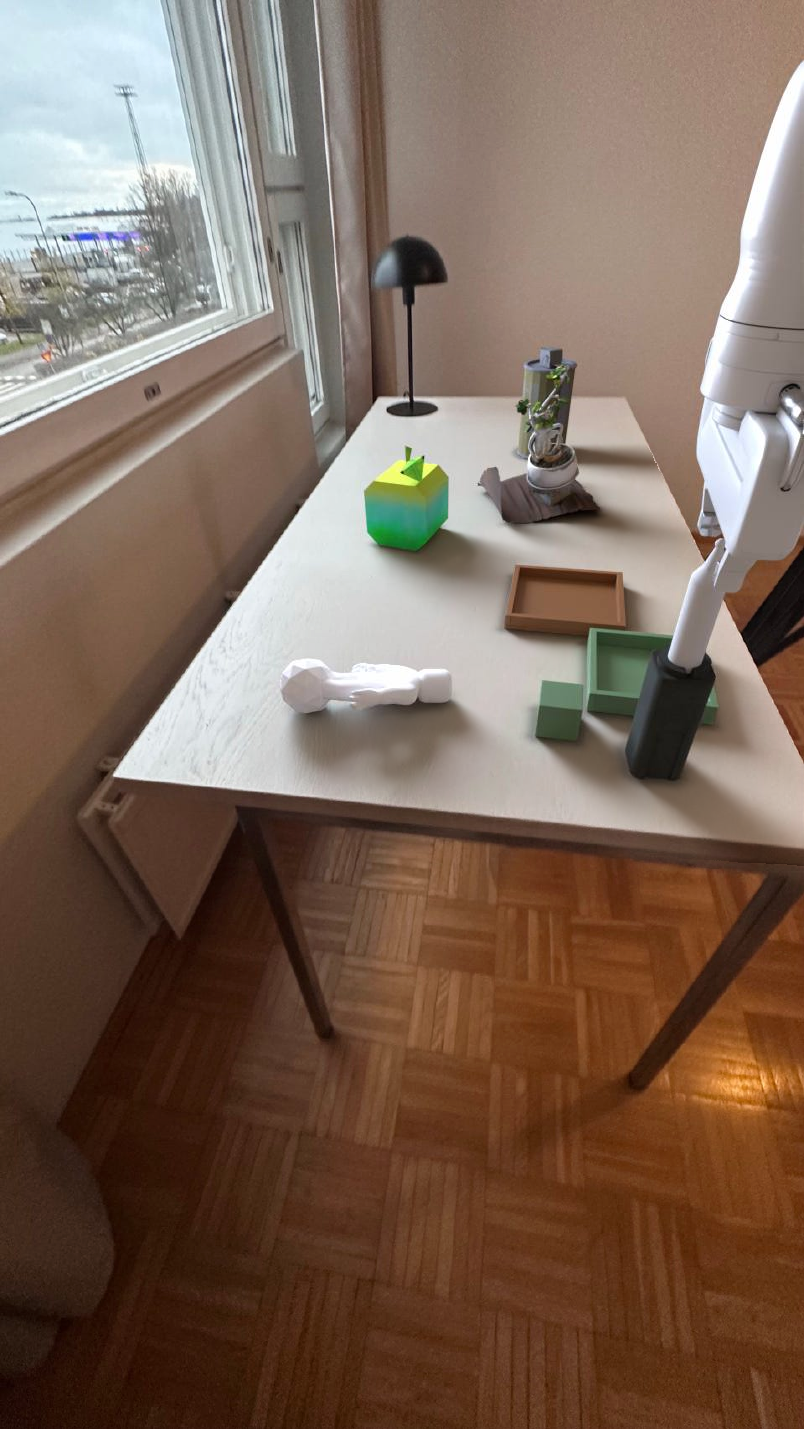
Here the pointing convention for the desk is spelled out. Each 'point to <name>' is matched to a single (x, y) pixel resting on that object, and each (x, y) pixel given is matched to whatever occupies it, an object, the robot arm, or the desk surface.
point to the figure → (361, 685)
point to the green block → (559, 710)
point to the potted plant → (541, 469)
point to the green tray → (624, 671)
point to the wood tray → (565, 600)
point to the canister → (545, 392)
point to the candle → (677, 683)
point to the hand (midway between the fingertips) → (715, 558)
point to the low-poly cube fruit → (407, 503)
